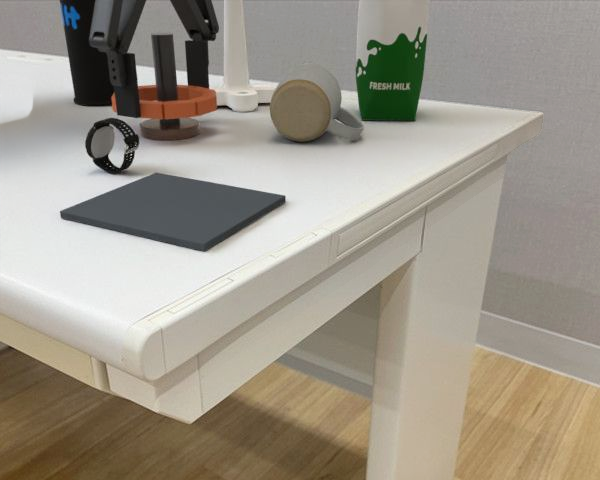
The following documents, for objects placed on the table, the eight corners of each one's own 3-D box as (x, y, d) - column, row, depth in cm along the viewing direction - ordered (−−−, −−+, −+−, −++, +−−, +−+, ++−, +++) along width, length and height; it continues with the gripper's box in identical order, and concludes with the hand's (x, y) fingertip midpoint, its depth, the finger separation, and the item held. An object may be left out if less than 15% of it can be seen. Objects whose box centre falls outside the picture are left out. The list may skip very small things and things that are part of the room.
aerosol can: (130, 94, 98) (113, -55, 88) (132, 104, 91) (114, -56, 81) (74, 96, 96) (51, -56, 86) (72, 107, 89) (46, -57, 79)
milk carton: (414, 108, 89) (428, -54, 80) (423, 123, 81) (440, -56, 72) (351, 107, 90) (358, -55, 80) (354, 122, 82) (362, -57, 72)
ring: (90, 111, 72) (88, 96, 71) (159, 93, 82) (158, 81, 81) (174, 124, 68) (173, 108, 67) (236, 104, 77) (236, 90, 76)
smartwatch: (120, 162, 65) (113, 112, 62) (147, 174, 61) (141, 121, 59) (82, 170, 62) (74, 118, 60) (108, 182, 59) (100, 128, 56)
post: (128, 135, 75) (116, 35, 69) (166, 124, 80) (157, 29, 75) (176, 143, 72) (167, 38, 67) (211, 130, 77) (206, 32, 72)
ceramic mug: (266, 143, 72) (266, 71, 68) (279, 126, 79) (279, 61, 75) (360, 148, 70) (365, 76, 67) (364, 131, 78) (369, 65, 74)
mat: (60, 218, 51) (59, 211, 50) (156, 178, 60) (156, 172, 60) (204, 251, 45) (203, 243, 45) (285, 202, 54) (285, 195, 54)
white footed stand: (269, 99, 94) (267, -54, 85) (285, 109, 88) (285, -56, 79) (195, 104, 91) (184, -55, 82) (207, 114, 85) (196, -57, 75)
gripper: (89, -127, 53) (119, 131, 63) (244, -102, 72) (248, 92, 83) (25, -123, 56) (64, 122, 66) (190, -101, 75) (201, 87, 86)
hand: (166, 106), depth 75 cm, fingers closed on ring, 12 cm apart
